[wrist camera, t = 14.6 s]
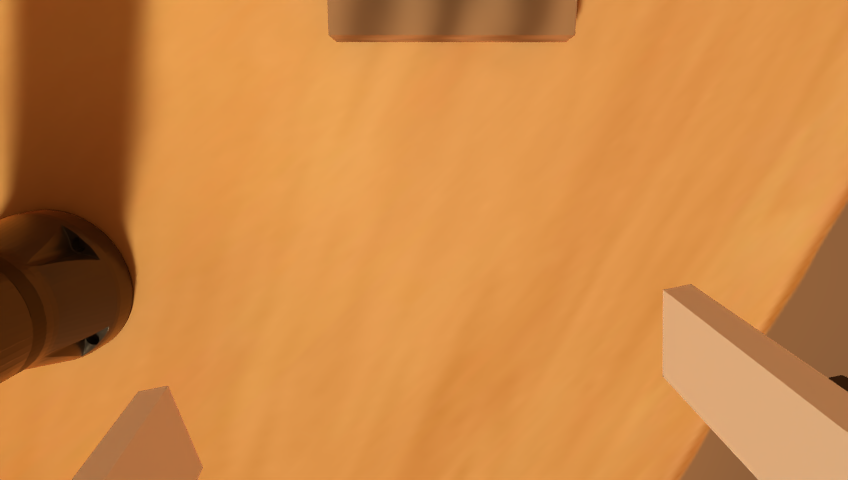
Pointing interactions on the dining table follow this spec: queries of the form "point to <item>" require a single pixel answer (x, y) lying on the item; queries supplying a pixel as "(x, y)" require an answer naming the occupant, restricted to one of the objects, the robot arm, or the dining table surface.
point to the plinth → (452, 20)
